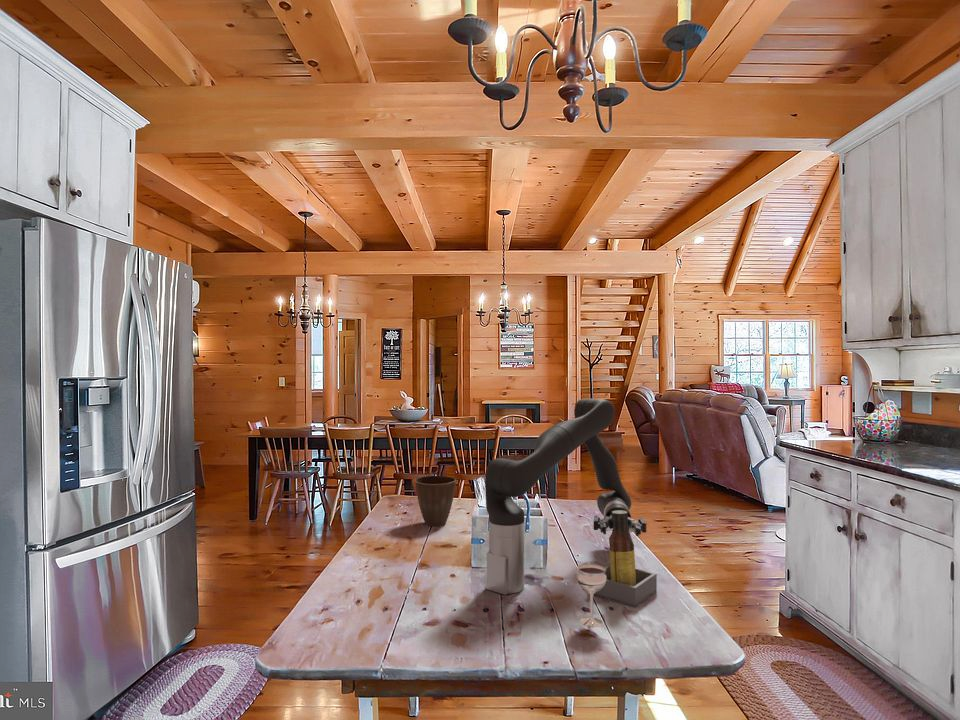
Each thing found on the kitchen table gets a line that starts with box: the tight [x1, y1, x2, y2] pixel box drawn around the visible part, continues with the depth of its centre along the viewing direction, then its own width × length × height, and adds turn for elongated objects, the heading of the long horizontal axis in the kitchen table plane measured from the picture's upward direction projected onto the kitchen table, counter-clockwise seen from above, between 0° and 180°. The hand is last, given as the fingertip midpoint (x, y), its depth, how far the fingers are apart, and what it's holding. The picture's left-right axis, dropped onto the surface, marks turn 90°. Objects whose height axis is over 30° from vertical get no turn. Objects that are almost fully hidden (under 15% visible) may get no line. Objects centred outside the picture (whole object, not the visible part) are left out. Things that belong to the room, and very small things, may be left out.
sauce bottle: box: [608, 510, 636, 586], centre depth 151 cm, size 6×6×20 cm
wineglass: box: [576, 563, 607, 628], centre depth 134 cm, size 7×7×12 cm
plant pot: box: [414, 475, 457, 527], centre depth 215 cm, size 15×15×16 cm
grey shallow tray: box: [593, 563, 658, 608], centre depth 151 cm, size 13×13×5 cm
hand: (621, 531), depth 158 cm, fingers open, 8 cm apart
